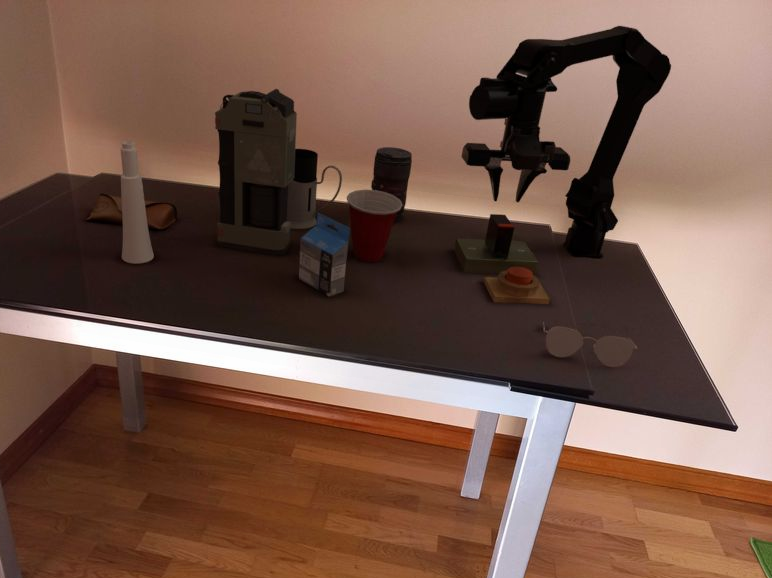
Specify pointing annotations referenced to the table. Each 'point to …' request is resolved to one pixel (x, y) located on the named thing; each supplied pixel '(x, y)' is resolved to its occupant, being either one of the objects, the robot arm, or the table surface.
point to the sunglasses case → (111, 212)
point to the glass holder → (305, 190)
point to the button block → (515, 290)
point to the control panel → (492, 257)
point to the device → (255, 170)
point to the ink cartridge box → (324, 256)
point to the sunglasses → (606, 348)
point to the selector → (499, 235)
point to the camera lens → (392, 173)
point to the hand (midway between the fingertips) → (506, 201)
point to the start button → (519, 275)
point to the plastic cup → (371, 222)
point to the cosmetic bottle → (133, 209)
